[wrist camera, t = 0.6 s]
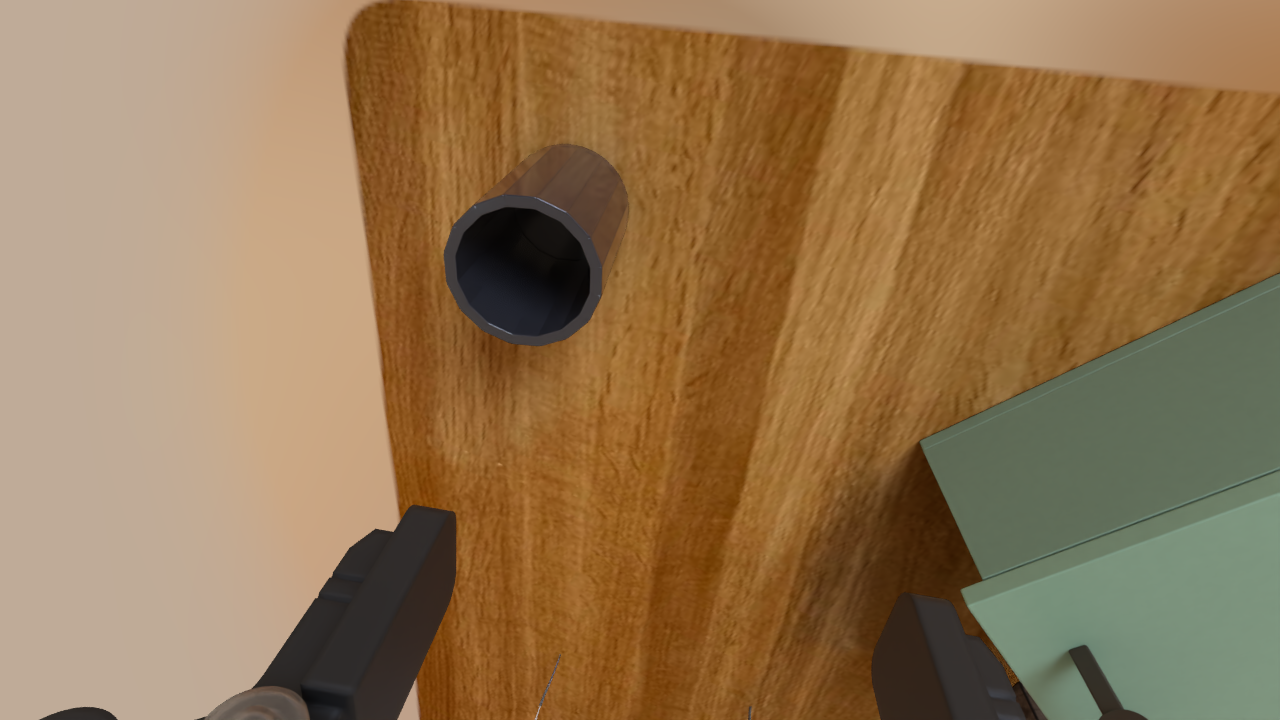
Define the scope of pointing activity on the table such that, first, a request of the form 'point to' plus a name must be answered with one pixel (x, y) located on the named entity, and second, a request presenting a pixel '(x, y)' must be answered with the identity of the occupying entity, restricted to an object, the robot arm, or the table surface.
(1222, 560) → the lid
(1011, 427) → the chest
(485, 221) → the cup
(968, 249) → the table surface
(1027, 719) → the mug
